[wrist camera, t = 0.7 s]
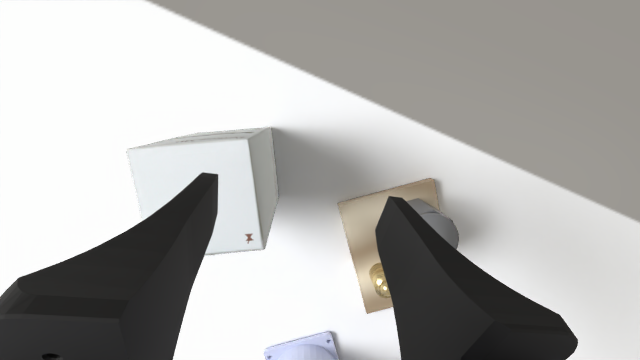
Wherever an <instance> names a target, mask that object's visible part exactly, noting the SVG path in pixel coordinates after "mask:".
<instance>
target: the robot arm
mask: <svg viewBox="0 0 640 360" xmlns="http://www.w3.org/2000/svg"><path fill="white" fill-rule="evenodd" d="M217 214H218V174H213V173H205V172H202V173H201V174H199V175H198V176H197V177H196V178H195V179H194V180H193V181H192V182H191V183H190V184H189V185H188V186H186V187H185V188H184V189H183V190H182V191H181V192H180V193H179V194H177V195H176V196H175V197H174V198H173V199H171V200H170V201H169V202H168V203H166V204H165V205H164V206H163V207H161V208H160V209H159V210H157V211H156V212H155V213H153V214H152V215H150V216H149V217H148V218H146V219H145V220H143V221H142V222H140V223H139V224H137V225H135V226H134V227H132V228H131V229H129V230H127V231H126V232H124V233H122V234H120V235H118V236H116V237H114V238H112V239H111V240H109V241H107V242H105V243H103V244H101V245H99V246H97V247H95V248H93V249H91V250H88V251H86V252H84V253H82V254H79V255H77V256H75V257H72V258H70V259H68V260H65V261H63V262H60V263H58V264H55V265H52V266H50V267H47V268H44V269H42V270H39V271H36V272H34V273H31V274H28V275H25V276H22V277H19V278H18V279H17V280H16V281H15V282H14V283H13V284H12V285H11V286H10V287H9V288H8V289H7V290H6V291H5V292H4V293H3V295H2V296H1V297H0V360H173V356H174V352H175V348H176V344H177V340H178V336H179V332H180V328H181V325H182V321H183V317H184V313H185V310H186V306H187V302H188V299H189V295H190V292H191V289H192V286H193V283H194V280H195V278H196V275H197V273H198V270H199V268H200V265H201V262H202V260H203V257H204V255H205V252H206V250H207V247H208V245H209V242H210V239H211V237H212V234H213V230H214V226H215V222H216V218H217ZM375 234H376V242H377V249H378V253H379V257H380V261H381V264H382V268H383V271H384V275H385V278H386V282H387V285H388V288H389V292H390V295H391V299H392V303H393V308H394V314H395V319H396V325H397V331H398V338H399V345H400V352H401V360H566V359H567V358H568V357H569V356H570V355H572V354H573V353H574V351H575V350H576V348H577V345H578V339H577V338H576V337H575V335H574V334H573V332H572V331H571V330H570V328H569V327H568V325H567V324H566V323H565V321H564V320H563V318H562V317H561V316H560V315H559V314H557V313H555V312H553V311H551V310H549V309H547V308H545V307H543V306H542V305H540V304H538V303H536V302H534V301H532V300H530V299H528V298H526V297H525V296H523V295H521V294H519V293H518V292H516V291H514V290H513V289H511V288H509V287H508V286H506V285H504V284H503V283H501V282H500V281H498V280H496V279H495V278H493V277H492V276H491V275H489V274H488V273H486V272H485V271H483V270H482V269H480V268H479V267H478V266H476V265H475V264H474V263H472V262H471V261H470V260H468V259H467V258H466V257H465V256H463V255H462V254H461V253H460V252H458V251H457V250H456V249H455V248H454V247H452V246H451V245H450V244H449V243H448V242H447V241H446V240H445V239H444V238H442V237H441V236H440V235H439V234H438V233H437V232H436V231H435V230H434V229H433V228H432V227H431V226H430V225H429V224H428V223H427V222H426V221H425V220H424V219H423V218H422V217H421V216H420V215H419V214H418V213H417V212H416V211H415V210H414V209H413V208H412V207H411V206H410V205H409V204H408V203H407V202H406V201H405V200H404V199H403V198H401V197H393V196H389V197H388V199H387V202H386V204H385V207H384V209H383V211H382V214H381V216H380V219H379V221H378V224H377V226H376V229H375ZM327 340H330V341H327ZM264 356H265V359H266V360H339V357H338V354H337V351H336V348H335V344H334V341H333V338H332V334H331V333H330V332H325V333H321V334H317V335H314V336H310V337H306V338H303V339H299V340H295V341H292V342H288V343H284V344H281V345H277V346H273V347H270V348H266V349H265V350H264ZM269 356H271V357H269Z"/></svg>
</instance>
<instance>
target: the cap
mask: <svg viewBox="0 0 640 360" xmlns="http://www.w3.org/2000/svg"><path fill="white" fill-rule="evenodd" d="M406 202H407V203H408V204H409V205H410V206H411V207H412V208H413V209H414V210H415V211H416V212H417V213H418V214H419V215H420V216H421V217H422V218H423V219H424V220H425V221H426V222H427V223H428V224H429V225H430V226H431V227H432V228H433V229H434V230H435V231H436V232H437V233H438V234H439V235H440V236H441V237H442V238H444V239H445V240H446V241H447V242H448V243H449V244H450V245H451V246H452V247H454V248H455V249H457V246H458V241H459V236H458V231H457V229H456V227H455V225H454V224H453V221H452V220H451V219H450V218H448V217H447V216H446V215H444V214H443V213H442V212H440V211H439V210H438V209H436V208H435V207H433V206H431V205H430V204H428V203H426V202H424V201H423V200H421V199H419V198H416V199H413V200H409V201H406Z"/></svg>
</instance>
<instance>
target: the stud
mask: <svg viewBox="0 0 640 360" xmlns="http://www.w3.org/2000/svg"><path fill="white" fill-rule="evenodd" d="M369 276H370V279H371V281H372V283H373V286H374V288H375V291H376V293H377V294H378V295H379V296H380V297H382V298H390V297H391V295H390V292H389V288H388V285H387V282H386V278H385V275H384V271H383V268H382V264H381V263H376V264H374V265H373V266H372V267H371V269H370V271H369Z"/></svg>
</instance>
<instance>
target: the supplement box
mask: <svg viewBox="0 0 640 360" xmlns="http://www.w3.org/2000/svg"><path fill="white" fill-rule="evenodd" d="M126 152H127V156H128V160H129V165H130V169H131V174H132V178H133V182H134V187H135V191H136V196H137V200H138V205H139V209H140V214H141V219H142V221H143V220H145V219H146V218H148V217H149V216H150V215H152V214H153V213H155V212H156V211H157V210H159V209H160V208H161V207H163V206H164V205H165V204H166V203H168V202H169V201H170V200H171V199H173V198H174V197H175V196H176V195H177V194H179V193H180V192H181V191H182V190H183V189H184V188H185V187H186V186H188V185H189V184H190V183H191V182H192V181H193V180H194V179H195V178H196V177H197V176H198V175H199V174H201V173H202V172H205V173H213V174H218V214H217V218H216V222H215V226H214V230H213V234H212V237H211V239H210V242H209V245H208V247H207V250H206V252H205V255H204V256H206V255H216V254H225V253H235V252H245V251H255V250H264V249H265V247H266V243H267V239H268V235H269V232H270V228H271V224H272V220H273V216H274V213H275V209H276V205H277V201H278V198H279V193H278V184H277V174H276V164H275V156H274V147H273V138H272V130H271V127H264V128H254V129H242V130H229V131H218V132H206V133H195V134H190V135H186V136H181V137H176V138H172V139H168V140H163V141H160V142H156V143H152V144H147V145H143V146H139V147H135V148H130V149H127V151H126Z"/></svg>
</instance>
